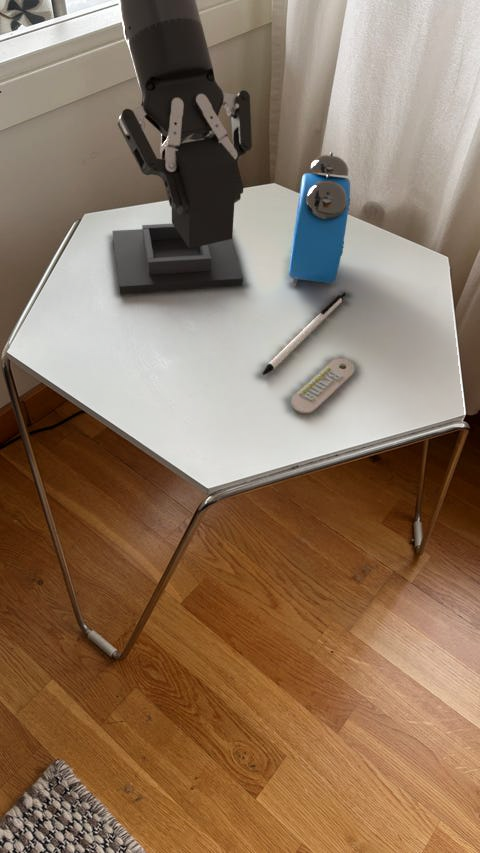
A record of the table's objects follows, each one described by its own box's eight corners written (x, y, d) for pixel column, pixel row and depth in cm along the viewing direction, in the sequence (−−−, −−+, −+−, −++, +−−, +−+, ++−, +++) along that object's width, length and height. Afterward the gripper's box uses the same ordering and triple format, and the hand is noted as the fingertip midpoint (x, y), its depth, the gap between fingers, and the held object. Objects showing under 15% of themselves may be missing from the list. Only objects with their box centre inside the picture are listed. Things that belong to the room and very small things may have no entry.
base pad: (119, 294, 90) (118, 274, 88) (113, 237, 98) (111, 218, 95) (242, 285, 93) (244, 266, 91) (226, 231, 101) (228, 212, 98)
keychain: (339, 352, 85) (360, 365, 84) (338, 356, 86) (359, 368, 84) (286, 400, 80) (307, 414, 79) (285, 403, 80) (307, 417, 79)
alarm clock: (292, 240, 100) (307, 139, 89) (336, 245, 100) (356, 145, 89) (285, 299, 92) (300, 197, 80) (332, 305, 92) (354, 203, 80)
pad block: (189, 249, 74) (189, 171, 67) (171, 222, 77) (170, 144, 70) (232, 239, 76) (237, 161, 69) (213, 213, 79) (216, 136, 72)
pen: (347, 297, 93) (348, 291, 92) (265, 379, 83) (265, 372, 82) (341, 295, 93) (342, 288, 92) (258, 376, 83) (259, 369, 82)
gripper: (100, 24, 64) (152, 213, 66) (243, 6, 68) (287, 184, 71) (88, 59, 71) (135, 228, 74) (219, 41, 75) (259, 202, 78)
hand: (209, 206), depth 72 cm, fingers closed on pad block, 5 cm apart
